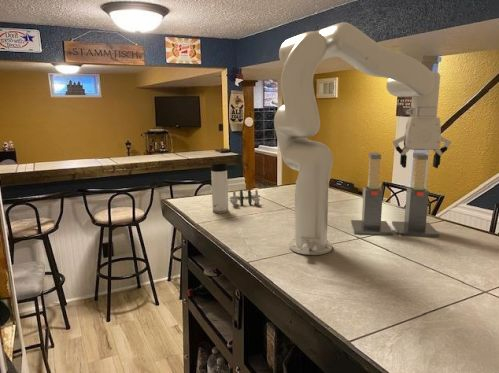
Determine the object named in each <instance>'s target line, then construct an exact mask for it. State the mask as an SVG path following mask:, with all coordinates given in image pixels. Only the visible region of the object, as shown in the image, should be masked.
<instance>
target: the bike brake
mask: <svg viewBox="0 0 499 373" xmlns="http://www.w3.org/2000/svg"><path fill="white" fill-rule="evenodd" d="M243 192H244V191H243V190H242V189H239V193H238V194H239V195H236V191H234V190H233V191H232V196H230V198H229V197H228V200H229V201H230V202H231V203H232V205H233V206H237V204H238V200H239V204H240V205H241V206H243V205H244V199H245V200H248V204H249V206H252V204H253V203H252V202H254V203H255V205H259V203H260V198H261V194H259V191H258V189H255V190H254V193H255V194H252V191H251V189H247V195H245V196H244V193H243Z"/></svg>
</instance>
